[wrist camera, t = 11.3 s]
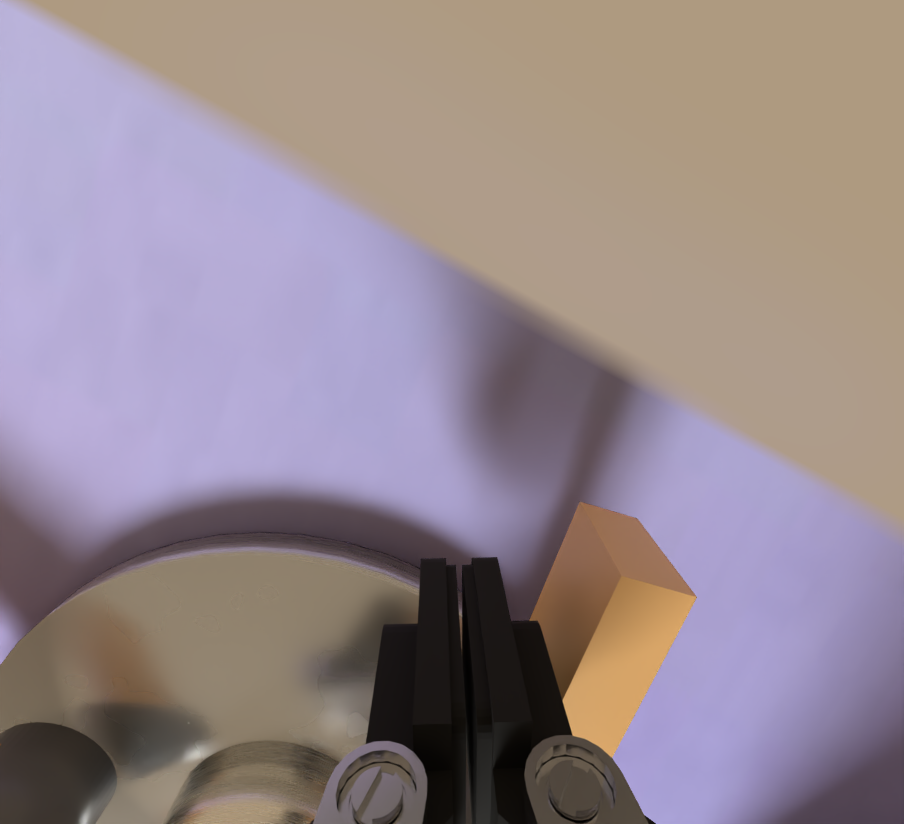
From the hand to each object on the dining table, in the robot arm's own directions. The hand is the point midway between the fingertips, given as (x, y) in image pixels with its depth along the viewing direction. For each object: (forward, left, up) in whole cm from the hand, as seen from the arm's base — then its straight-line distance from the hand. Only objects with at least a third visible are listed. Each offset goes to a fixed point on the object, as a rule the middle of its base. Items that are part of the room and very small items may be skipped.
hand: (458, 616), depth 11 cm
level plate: (+5, +9, -3) cm, 11 cm away
